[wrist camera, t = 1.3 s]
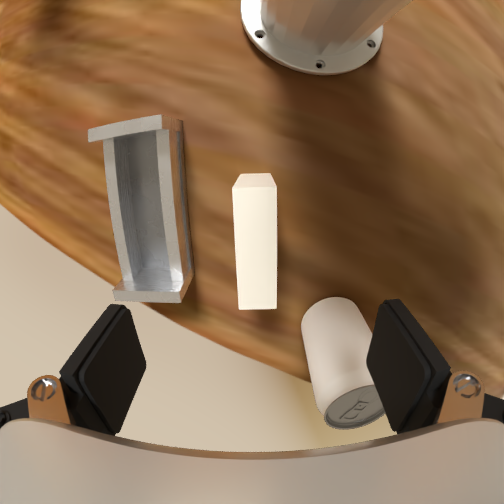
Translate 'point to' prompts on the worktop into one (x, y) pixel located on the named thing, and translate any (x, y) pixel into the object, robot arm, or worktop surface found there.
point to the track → (148, 207)
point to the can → (340, 363)
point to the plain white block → (256, 240)
